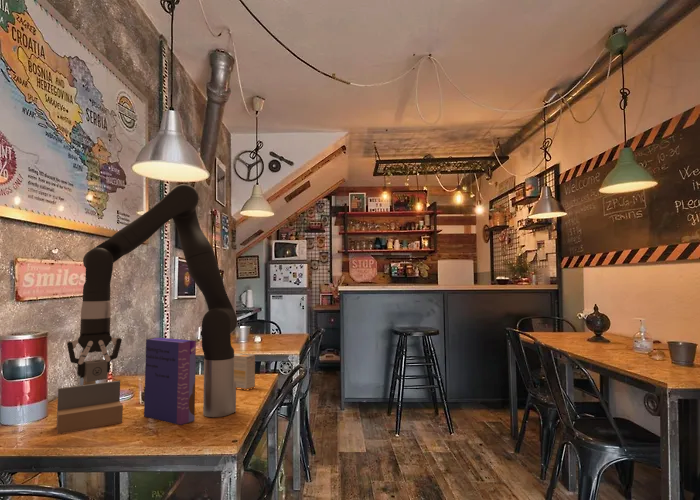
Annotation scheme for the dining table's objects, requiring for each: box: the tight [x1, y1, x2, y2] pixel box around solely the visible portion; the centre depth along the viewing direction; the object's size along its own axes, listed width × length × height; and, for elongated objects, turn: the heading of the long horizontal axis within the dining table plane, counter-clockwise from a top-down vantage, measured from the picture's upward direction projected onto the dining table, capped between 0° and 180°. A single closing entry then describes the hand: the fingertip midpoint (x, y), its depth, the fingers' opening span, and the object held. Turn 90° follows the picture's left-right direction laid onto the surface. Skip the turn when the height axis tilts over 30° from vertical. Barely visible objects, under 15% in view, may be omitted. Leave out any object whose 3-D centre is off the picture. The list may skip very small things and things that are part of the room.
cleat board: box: [56, 380, 124, 435], centre depth 127 cm, size 16×7×11 cm, turn 126°
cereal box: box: [143, 337, 197, 426], centre depth 132 cm, size 17×5×24 cm, turn 59°
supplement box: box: [234, 353, 256, 391], centre depth 169 cm, size 8×5×13 cm, turn 58°
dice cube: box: [82, 358, 108, 382], centre depth 123 cm, size 5×5×5 cm
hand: (93, 375), depth 124 cm, fingers closed on dice cube, 5 cm apart
